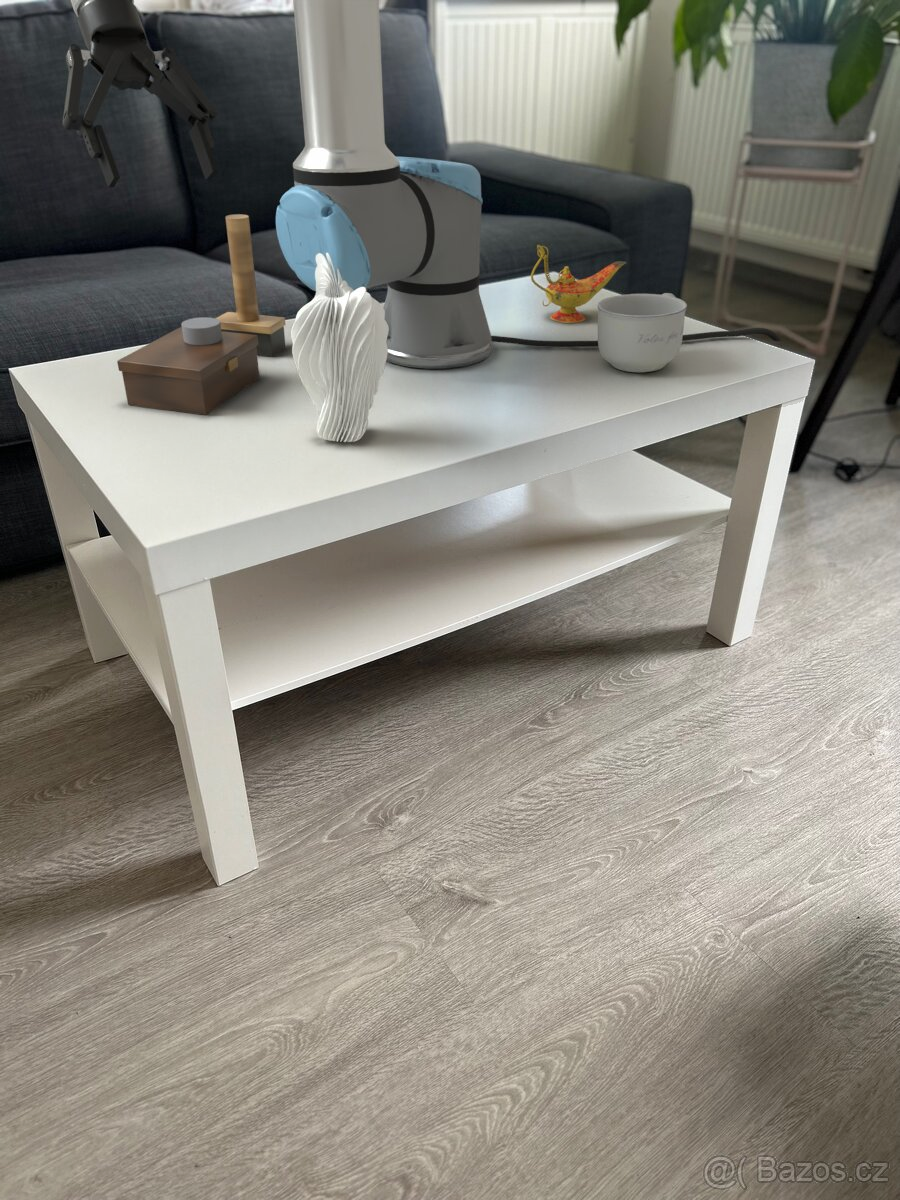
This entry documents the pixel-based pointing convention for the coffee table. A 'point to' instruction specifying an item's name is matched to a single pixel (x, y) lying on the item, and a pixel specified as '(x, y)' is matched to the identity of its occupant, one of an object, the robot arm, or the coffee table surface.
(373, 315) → the shell sculpture
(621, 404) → the coffee table surface
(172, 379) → the walnut box
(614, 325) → the teacup
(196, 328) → the felt pad
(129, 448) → the coffee table surface
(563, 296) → the magic lamp
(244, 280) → the brush
